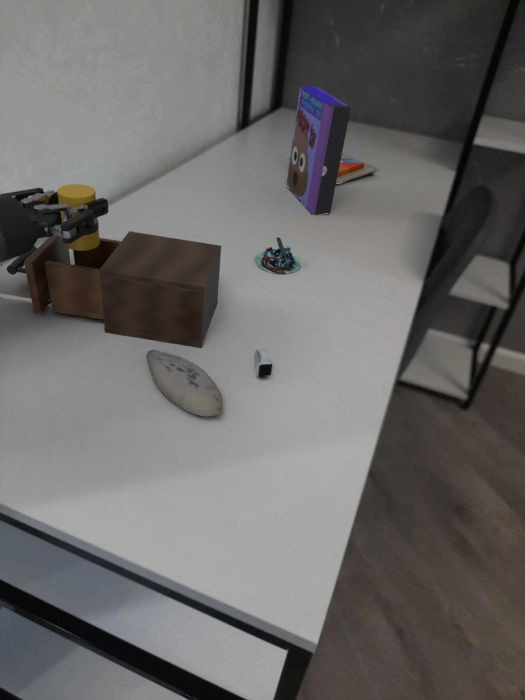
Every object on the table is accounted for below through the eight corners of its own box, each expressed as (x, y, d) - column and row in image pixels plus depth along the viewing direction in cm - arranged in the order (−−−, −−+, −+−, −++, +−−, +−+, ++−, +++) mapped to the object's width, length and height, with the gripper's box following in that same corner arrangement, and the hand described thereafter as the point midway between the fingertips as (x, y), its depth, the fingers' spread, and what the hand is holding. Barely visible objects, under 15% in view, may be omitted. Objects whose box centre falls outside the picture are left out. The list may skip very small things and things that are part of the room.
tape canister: (57, 248, 75) (50, 194, 70) (72, 233, 79) (66, 181, 74) (92, 253, 75) (87, 199, 70) (105, 238, 79) (101, 186, 74)
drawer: (5, 308, 79) (-7, 256, 73) (40, 272, 88) (32, 223, 83) (121, 327, 78) (117, 276, 73) (144, 288, 87) (142, 240, 82)
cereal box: (286, 186, 135) (300, 85, 120) (303, 186, 137) (319, 86, 122) (311, 214, 122) (330, 105, 108) (329, 214, 124) (351, 106, 109)
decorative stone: (166, 353, 76) (166, 334, 74) (237, 411, 68) (240, 392, 66) (130, 369, 73) (129, 350, 70) (201, 433, 65) (203, 413, 63)
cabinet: (105, 332, 78) (99, 269, 72) (132, 289, 89) (129, 231, 82) (201, 348, 78) (204, 286, 71) (217, 303, 88) (221, 245, 82)
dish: (310, 258, 99) (281, 232, 97) (288, 288, 99) (258, 263, 97) (296, 257, 107) (268, 234, 104) (275, 285, 107) (247, 262, 104)
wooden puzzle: (287, 165, 148) (289, 153, 146) (331, 157, 159) (333, 145, 157) (333, 186, 139) (335, 173, 137) (376, 175, 150) (379, 163, 148)
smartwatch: (251, 365, 76) (254, 343, 74) (265, 364, 77) (268, 342, 74) (256, 381, 73) (259, 360, 71) (271, 380, 74) (275, 359, 72)
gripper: (15, 224, 58) (127, 188, 70) (-60, 187, 64) (56, 159, 76) (26, 282, 63) (129, 239, 75) (-45, 243, 68) (62, 209, 80)
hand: (92, 199), depth 75 cm, fingers closed on tape canister, 5 cm apart
